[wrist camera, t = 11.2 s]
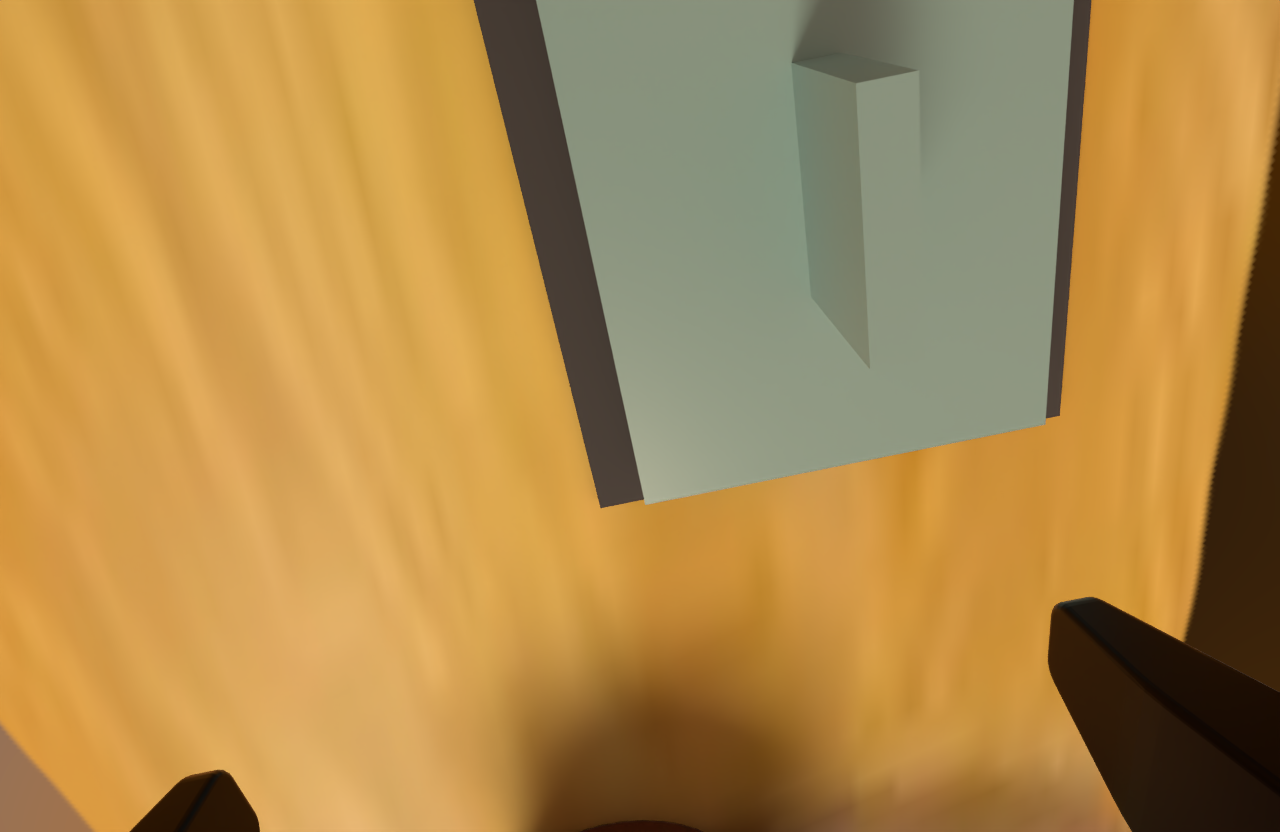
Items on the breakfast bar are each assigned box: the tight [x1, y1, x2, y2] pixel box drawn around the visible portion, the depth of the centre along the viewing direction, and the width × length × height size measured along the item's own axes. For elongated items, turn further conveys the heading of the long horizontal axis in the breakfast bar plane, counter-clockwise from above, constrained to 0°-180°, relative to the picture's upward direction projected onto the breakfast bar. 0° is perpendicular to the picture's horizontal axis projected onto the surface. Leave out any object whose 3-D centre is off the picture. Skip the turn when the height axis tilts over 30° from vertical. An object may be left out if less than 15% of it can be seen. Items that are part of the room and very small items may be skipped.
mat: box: [474, 0, 1091, 508], centre depth 19 cm, size 16×13×1 cm
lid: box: [536, 0, 1074, 505], centre depth 16 cm, size 14×10×6 cm
